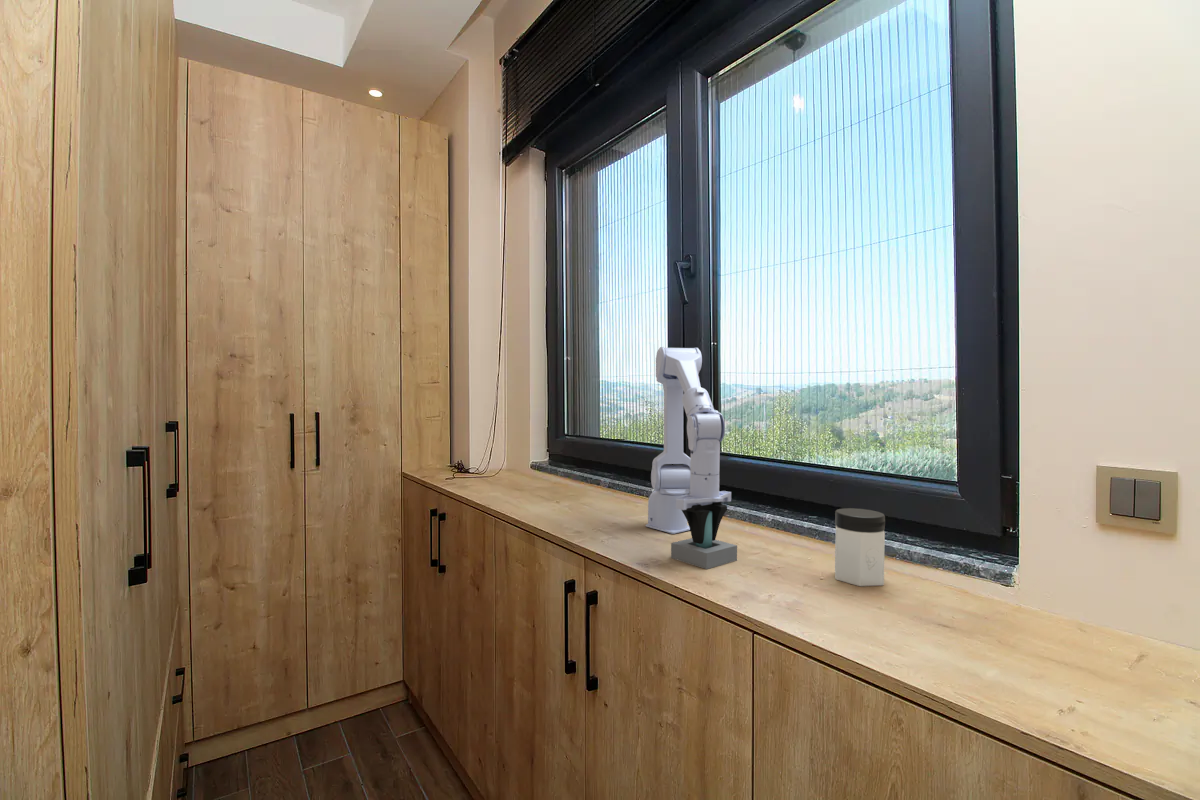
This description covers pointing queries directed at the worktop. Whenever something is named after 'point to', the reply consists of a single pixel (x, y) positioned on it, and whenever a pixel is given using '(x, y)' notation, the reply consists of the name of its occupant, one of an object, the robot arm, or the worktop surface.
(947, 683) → the worktop surface
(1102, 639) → the worktop surface
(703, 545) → the peg
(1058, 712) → the worktop surface
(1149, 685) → the worktop surface
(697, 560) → the socket block
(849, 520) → the jar
